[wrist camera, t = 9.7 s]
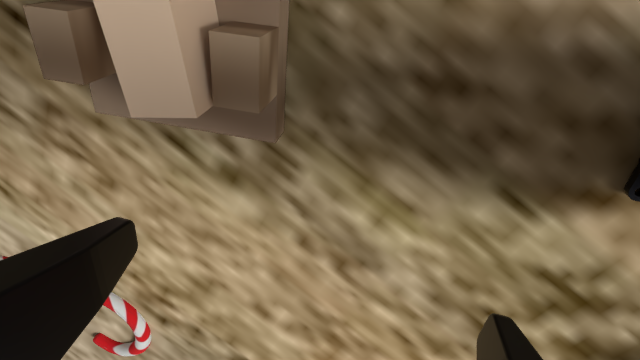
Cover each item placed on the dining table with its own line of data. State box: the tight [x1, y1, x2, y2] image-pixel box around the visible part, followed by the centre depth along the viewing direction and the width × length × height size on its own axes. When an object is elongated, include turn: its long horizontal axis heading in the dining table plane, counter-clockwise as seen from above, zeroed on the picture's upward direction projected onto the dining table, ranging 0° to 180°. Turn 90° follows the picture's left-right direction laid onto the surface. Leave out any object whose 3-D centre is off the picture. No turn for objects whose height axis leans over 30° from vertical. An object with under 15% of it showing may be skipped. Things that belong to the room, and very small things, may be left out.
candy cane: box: [0, 256, 151, 356], centre depth 32 cm, size 8×1×15 cm
